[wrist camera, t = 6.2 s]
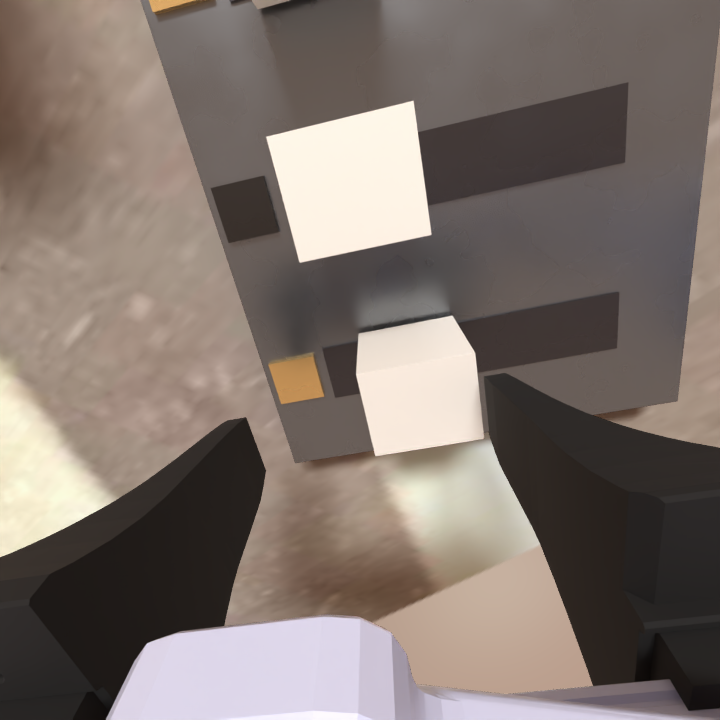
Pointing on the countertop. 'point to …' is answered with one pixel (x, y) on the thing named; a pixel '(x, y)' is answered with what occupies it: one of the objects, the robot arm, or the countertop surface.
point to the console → (462, 186)
